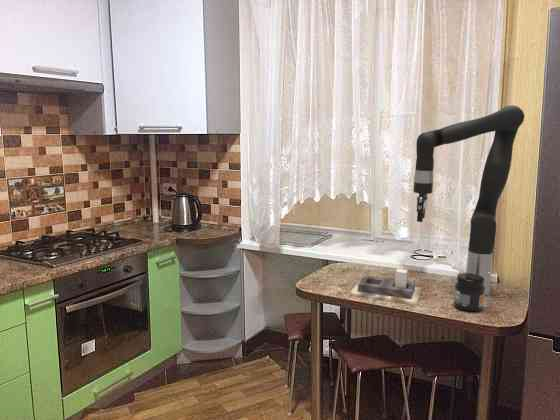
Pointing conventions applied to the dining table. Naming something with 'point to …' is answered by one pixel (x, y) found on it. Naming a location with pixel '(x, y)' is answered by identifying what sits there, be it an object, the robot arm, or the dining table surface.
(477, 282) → the supplement container
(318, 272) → the dining table surface
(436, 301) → the dining table surface
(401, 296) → the socket board
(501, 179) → the robot arm
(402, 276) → the white rectangular block
